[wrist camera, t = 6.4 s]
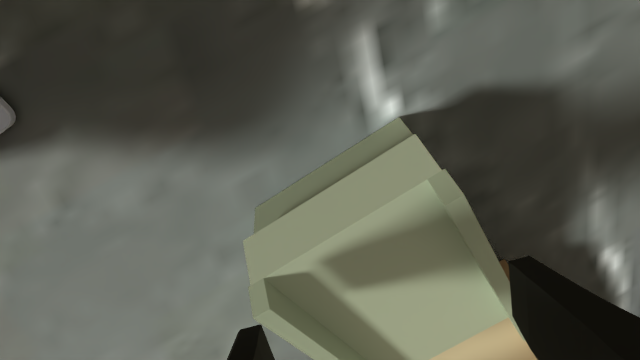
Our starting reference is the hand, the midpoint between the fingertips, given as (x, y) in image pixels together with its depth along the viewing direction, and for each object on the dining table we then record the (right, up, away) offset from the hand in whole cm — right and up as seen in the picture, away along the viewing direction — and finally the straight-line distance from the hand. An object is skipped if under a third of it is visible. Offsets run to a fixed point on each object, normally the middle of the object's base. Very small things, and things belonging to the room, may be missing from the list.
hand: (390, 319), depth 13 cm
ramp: (+1, +1, +8) cm, 8 cm away
